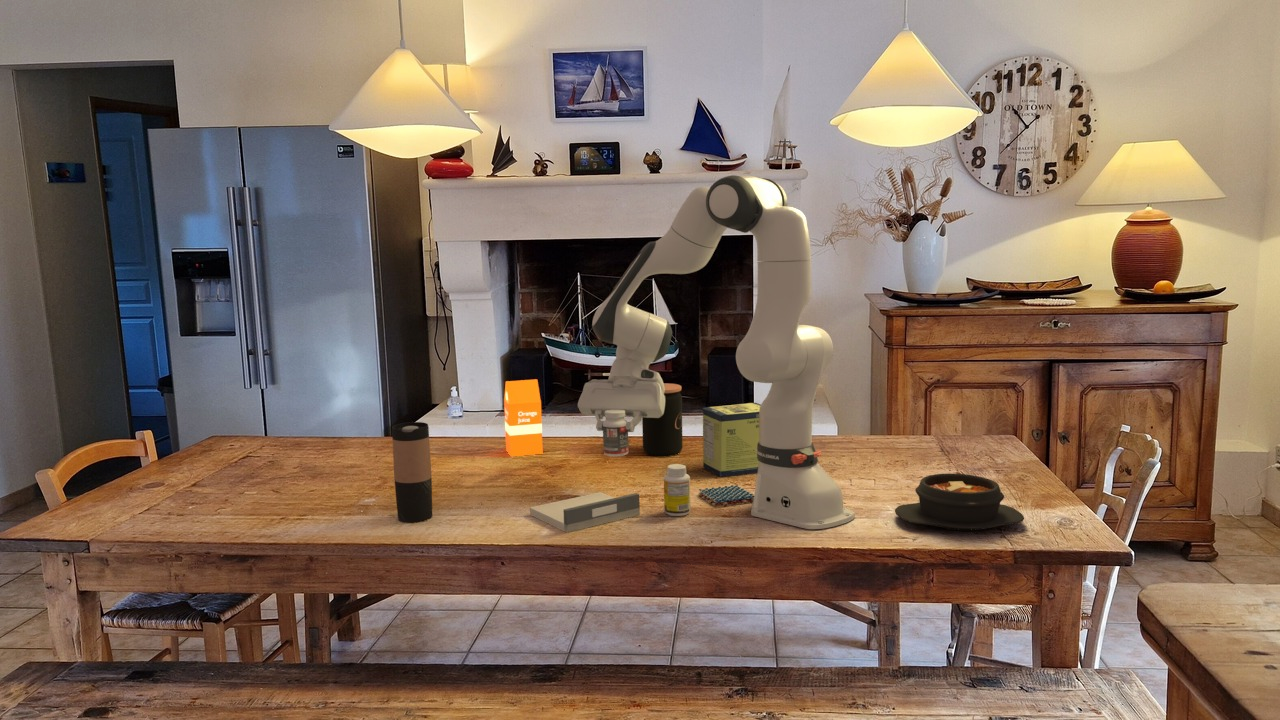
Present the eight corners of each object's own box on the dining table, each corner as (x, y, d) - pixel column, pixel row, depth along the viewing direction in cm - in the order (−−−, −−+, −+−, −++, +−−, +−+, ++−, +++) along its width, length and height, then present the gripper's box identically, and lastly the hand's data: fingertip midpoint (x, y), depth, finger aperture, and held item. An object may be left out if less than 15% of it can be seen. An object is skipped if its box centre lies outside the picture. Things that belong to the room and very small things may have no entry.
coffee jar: (683, 457, 245) (682, 389, 242) (642, 457, 245) (641, 390, 243) (682, 447, 256) (681, 382, 253) (643, 447, 256) (642, 383, 253)
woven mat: (716, 510, 201) (716, 501, 200) (696, 497, 211) (696, 488, 210) (759, 504, 204) (759, 495, 204) (737, 492, 214) (737, 483, 214)
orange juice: (505, 451, 255) (502, 379, 252) (537, 448, 258) (535, 377, 255) (510, 457, 248) (507, 383, 245) (543, 454, 250) (540, 381, 247)
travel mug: (418, 510, 203) (413, 420, 200) (441, 516, 198) (436, 424, 196) (389, 518, 197) (383, 426, 194) (411, 525, 193) (406, 431, 190)
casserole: (907, 538, 180) (908, 496, 178) (885, 509, 198) (886, 471, 197) (1038, 537, 179) (1040, 495, 177) (1004, 508, 197) (1005, 469, 196)
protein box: (776, 470, 230) (777, 409, 228) (720, 478, 224) (720, 414, 222) (756, 461, 240) (756, 401, 237) (701, 467, 234) (701, 407, 232)
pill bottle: (625, 457, 208) (624, 413, 206) (601, 456, 209) (599, 413, 207) (631, 451, 213) (629, 408, 212) (607, 450, 214) (605, 408, 213)
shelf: (640, 515, 197) (639, 494, 196) (567, 532, 186) (567, 511, 186) (600, 499, 209) (599, 479, 208) (530, 514, 198) (529, 494, 198)
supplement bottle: (670, 507, 201) (669, 462, 200) (694, 510, 199) (693, 464, 198) (660, 515, 196) (659, 468, 195) (684, 518, 194) (684, 470, 193)
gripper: (582, 371, 218) (567, 420, 211) (665, 373, 212) (653, 423, 204) (590, 387, 223) (576, 435, 215) (671, 389, 217) (660, 439, 209)
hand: (614, 430), depth 210 cm, fingers closed on pill bottle, 6 cm apart
